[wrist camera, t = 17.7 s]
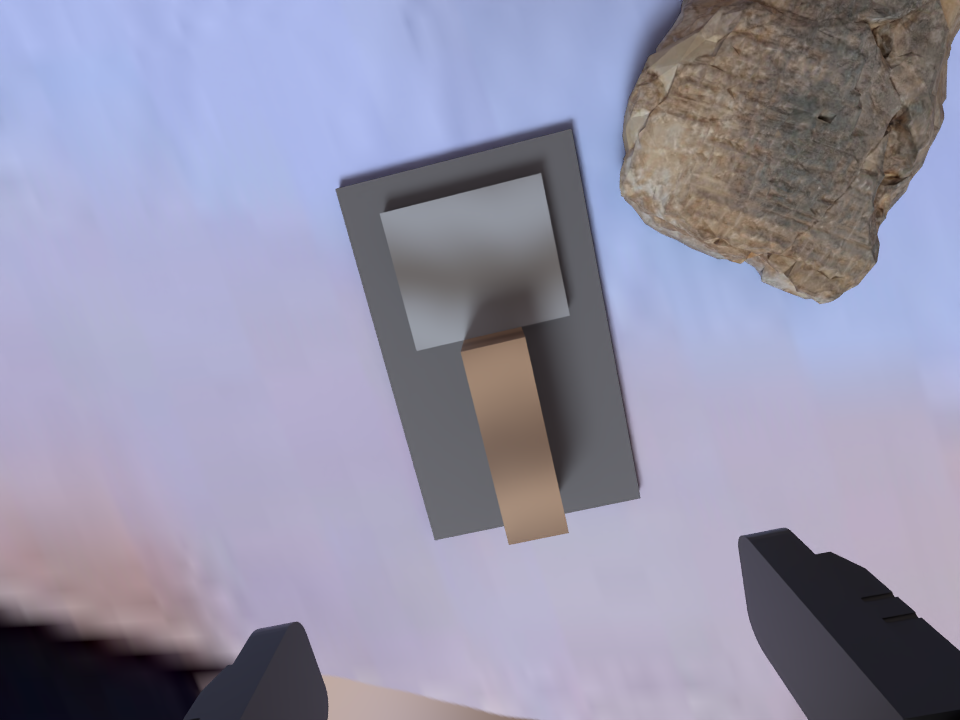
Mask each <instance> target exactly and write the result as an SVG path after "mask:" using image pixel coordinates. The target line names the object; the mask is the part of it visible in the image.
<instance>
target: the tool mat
mask: <svg viewBox="0 0 960 720" xmlns="http://www.w3.org/2000/svg"><path fill="white" fill-rule="evenodd" d="M539 173H541V175H542V180H543V185H544V190H545V195H546V200H547V205H548V210H549V215H550V220H551V225H552V230H553V235H554V240H555V244H556V249H557V254H558V259H559V264H560V269H561V274H562V279H563V284H564V289H565V294H566V299H567V304H568V309H569V314H570V316H566V317H561V318H557V319H553V320H548V321H544V322H540V323H536V324H531V325H527V326H523V327H522V330H523V333H524V335H525V338H526V343H527V347H528V352H529V356H530V361H531V365H532V370H533V374H534V379H535V383H536V388H537V392H538V397H539V401H540V406H541V410H542V415H543V419H544V424H545V428H546V433H547V437H548V442H549V446H550V451H551V455H552V460H553V464H554V469H555V473H556V478H557V482H558V487H559V491H560V496H561V500H562V505H563V509H564V514H565V513H570V512H575V511H580V510H585V509H590V508H595V507H600V506H604V505H609V504H614V503H619V502H624V501H629V500H634V499H639V498H640V493H639V488H638V482H637V477H636V472H635V466H634V461H633V455H632V450H631V445H630V439H629V434H628V429H627V423H626V418H625V413H624V407H623V402H622V396H621V391H620V386H619V380H618V375H617V370H616V364H615V359H614V354H613V348H612V343H611V337H610V332H609V327H608V321H607V316H606V311H605V305H604V300H603V295H602V289H601V284H600V278H599V273H598V268H597V262H596V257H595V252H594V246H593V241H592V236H591V230H590V225H589V220H588V214H587V209H586V203H585V198H584V193H583V187H582V182H581V177H580V171H579V166H578V161H577V155H576V150H575V144H574V139H573V134H572V129H568V130H564V131H560V132H557V133H553V134H549V135H545V136H541V137H537V138H533V139H529V140H525V141H521V142H517V143H513V144H510V145H506V146H502V147H498V148H494V149H490V150H486V151H482V152H478V153H474V154H470V155H467V156H463V157H459V158H455V159H451V160H447V161H443V162H439V163H435V164H431V165H427V166H424V167H420V168H416V169H412V170H408V171H404V172H400V173H396V174H392V175H388V176H384V177H380V178H377V179H373V180H369V181H365V182H361V183H357V184H353V185H349V186H345V187H341V188H337V189H336V193H337V196H338V200H339V203H340V207H341V210H342V214H343V217H344V221H345V225H346V228H347V232H348V235H349V239H350V242H351V246H352V249H353V253H354V256H355V260H356V263H357V267H358V270H359V274H360V278H361V281H362V285H363V288H364V292H365V295H366V299H367V302H368V306H369V309H370V313H371V316H372V320H373V323H374V327H375V330H376V334H377V338H378V341H379V345H380V348H381V352H382V355H383V359H384V362H385V366H386V369H387V373H388V376H389V380H390V383H391V387H392V390H393V394H394V398H395V401H396V405H397V408H398V412H399V415H400V419H401V422H402V426H403V429H404V433H405V436H406V440H407V443H408V447H409V451H410V454H411V458H412V461H413V465H414V468H415V472H416V475H417V479H418V482H419V486H420V489H421V493H422V496H423V500H424V503H425V507H426V511H427V514H428V518H429V521H430V525H431V528H432V532H433V535H434V539H435V540H438V539H443V538H448V537H453V536H458V535H463V534H468V533H473V532H477V531H482V530H487V529H492V528H497V527H502V526H504V523H503V519H502V515H501V511H500V507H499V503H498V499H497V495H496V491H495V487H494V483H493V479H492V475H491V471H490V467H489V463H488V459H487V455H486V451H485V447H484V443H483V439H482V435H481V431H480V427H479V423H478V419H477V415H476V411H475V407H474V403H473V399H472V395H471V391H470V387H469V383H468V379H467V375H466V371H465V367H464V363H463V359H462V356H461V349H462V345H463V341H464V340H462V341H458V342H453V343H449V344H445V345H440V346H436V347H432V348H428V349H423V350H419V351H417V350H416V347H415V343H414V339H413V336H412V332H411V328H410V324H409V321H408V317H407V313H406V310H405V306H404V302H403V298H402V295H401V291H400V287H399V284H398V280H397V276H396V272H395V269H394V265H393V261H392V258H391V254H390V250H389V246H388V243H387V239H386V235H385V232H384V228H383V224H382V220H381V217H380V213H384V212H388V211H392V210H396V209H400V208H404V207H408V206H412V205H416V204H420V203H424V202H428V201H432V200H436V199H440V198H444V197H448V196H452V195H456V194H460V193H464V192H468V191H472V190H476V189H480V188H484V187H488V186H492V185H496V184H500V183H504V182H507V181H511V180H515V179H519V178H523V177H527V176H531V175H535V174H539Z"/></svg>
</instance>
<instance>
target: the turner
mask: <svg viewBox="0 0 960 720" xmlns="http://www.w3.org/2000/svg"><path fill="white" fill-rule="evenodd" d="M380 217H381V220H382V224H383V228H384V232H385V235H386V239H387V243H388V246H389V250H390V254H391V258H392V261H393V265H394V269H395V272H396V276H397V280H398V284H399V287H400V291H401V295H402V298H403V302H404V306H405V310H406V313H407V317H408V321H409V324H410V328H411V332H412V336H413V339H414V343H415V347H416V350H417V351H419V350H423V349H428V348H432V347H436V346H440V345H445V344H449V343H453V342H458V341H462V340H464V341H463V345H462V349H461V356H462V359H463V363H464V367H465V371H466V375H467V379H468V383H469V387H470V391H471V395H472V399H473V403H474V407H475V411H476V415H477V419H478V423H479V427H480V431H481V435H482V439H483V443H484V447H485V451H486V455H487V459H488V463H489V467H490V471H491V475H492V479H493V483H494V487H495V491H496V495H497V499H498V503H499V507H500V511H501V515H502V519H503V523H504V527H505V531H506V535H507V539H508V543H509V545H511V544H516V543H521V542H526V541H531V540H536V539H541V538H546V537H550V536H555V535H560V534H565V533H569V532H568V527H567V523H566V518H565V514H564V509H563V505H562V500H561V496H560V491H559V487H558V482H557V478H556V473H555V469H554V464H553V460H552V455H551V451H550V446H549V442H548V437H547V433H546V428H545V424H544V419H543V415H542V410H541V406H540V401H539V397H538V392H537V388H536V383H535V379H534V374H533V370H532V365H531V361H530V356H529V352H528V347H527V343H526V338H525V335H524V333H523V330H522V327H523V326H527V325H531V324H536V323H540V322H544V321H548V320H553V319H557V318H561V317H566V316H570V314H569V309H568V304H567V299H566V294H565V289H564V284H563V279H562V274H561V269H560V264H559V259H558V254H557V249H556V244H555V240H554V235H553V230H552V225H551V220H550V215H549V210H548V205H547V200H546V195H545V190H544V185H543V180H542V175H541V173H539V174H535V175H531V176H527V177H523V178H519V179H515V180H511V181H507V182H504V183H500V184H496V185H492V186H488V187H484V188H480V189H476V190H472V191H468V192H464V193H460V194H456V195H452V196H448V197H444V198H440V199H436V200H432V201H428V202H424V203H420V204H416V205H412V206H408V207H404V208H400V209H396V210H392V211H388V212H384V213H380Z"/></svg>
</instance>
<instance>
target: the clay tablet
mask: <svg viewBox="0 0 960 720" xmlns="http://www.w3.org/2000/svg"><path fill="white" fill-rule="evenodd" d="M959 29H960V0H683V2H682V6H681V13H680V15H679V16H678V18H677V20H676V21H675V23H674V25H673V26H672V28H671V29H670V30H669V32H668V33H667V34H666V35H665V37H664V38H663V39H662V41H661V42H660V44H659V45H658V47H657V48H656V53H654V54H652V55H650V56H649V57H648V59H647V61H646V63H645V66H644V68H643V70H642V73H641V74H640V76H639V78H638V80H637V83H636V85H635V87H634V89H633V91H632V93H631V95H630V97H629V101H628V105H627V108H626V112H625V116H624V125H623V141H624V147H625V152H626V155H625V157H624V159H623V160H624V162H623V165H622V168H621V171H620V191H621V196H623V197H624V199H625V201H626V202H628V203H629V204H630V205H631V206H632V207H633V208H634V209H635V211H636V212H637V213H638V215H639V216H640V217H641V219H642V220H643V221H644V222H645V224H647V225H648V226H650V227H651V228H653V229H655V230H656V231H658V232H659V233H661V234H664V235H666V236H668V237H671V238H673V239H676V240H678V241H680V242H681V243H683V244H685V245H687V246H688V247H690V248H692V249H695V250H697V251H700V252H702V253H705V254H707V255H710V256H712V257H714V258H717V259H728V260H729V261H732V262H736V263H739V264H741V263H742V262H744V261H745V262H747V263H748V264H750V265H752V266H753V267H755V268H756V270H757V271H758V273H759V274H760V276H761V280H762V282H764V283H766V284H769V285H771V286H773V287H776V288H778V289H781V290H783V291H785V292H788V293H791V294H793V295H796V296H799V297H801V298H804V299H813V300H815V301H816V302H818V303H819V304H822V303H828V302H831V301H833V300H835V299H837V298H838V297H840V296H841V295H842V294H843V293H844V292H845V291H847V290H849V289H851V288H853V287H855V286H857V285H858V284H859V283H860V282H861V280H862V279H863V278H864V277H865V276H866V274H867V273H868V272H869V271H870V270H871V268H872V267H873V266H874V265H875V264H876V262H877V258H878V252H879V246H880V244H879V240H878V236H877V233H878V229H879V226H880V224H881V223H882V222H883V221H884V219H885V218H886V215H887V212H888V211H889V210H890V209H891V207H892V206H893V205H894V204H895V203H896V202H897V201H898V200H899V198H900V197H901V196H902V195H903V194H904V193H905V192H906V190H907V187H908V185H909V182H910V181H911V179H912V178H913V176H914V175H915V174H916V173H917V172H918V171H919V169H920V168H921V167H922V166H923V163H924V160H925V158H926V155H927V153H928V150H929V148H930V146H931V145H932V143H933V141H934V139H935V137H936V135H937V133H938V132H939V130H940V128H941V125H942V123H943V120H944V111H943V106H942V104H943V102H944V101H945V99H946V87H947V60H948V58H949V56H950V50H951V44H952V42H953V39H954V37H955V35H956V34H957V32H958V30H959Z"/></svg>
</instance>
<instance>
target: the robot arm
mask: <svg viewBox="0 0 960 720" xmlns="http://www.w3.org/2000/svg"><path fill="white" fill-rule="evenodd" d="M738 548H739V555H740V562H741V569H742V576H743V583H744V590H745V597H746V604H747V611H748V616H749V620H750V623H751V626H752V629H753V631H754V634H755V636H756V639H757V641H758V643H759V645H760V647H761V649H762V650H763V652H764V654H765V655H766V657H767V658H768V660H769V661H770V663H771V664H772V666H773V667H774V669H775V670H776V672H777V673H778V675H779V676H780V678H781V679H782V681H783V682H784V684H785V685H786V687H787V688H788V690H789V691H790V693H791V694H792V696H793V697H794V699H795V700H796V702H797V703H798V705H799V706H800V708H801V709H802V711H803V712H804V714H805V715H806V717H807V718H808V720H960V651H959V650H958V649H957V648H956V647H955V646H954V645H952V644H951V643H950V642H949V641H948V640H947V639H945V638H944V637H943V636H942V635H941V634H940V633H939V632H937V631H936V630H935V629H934V628H933V627H932V626H931V625H929V624H928V623H927V622H926V621H925V620H924V619H923V618H918V617H917V615H916V613H915V611H913V610H912V609H911V608H910V607H909V606H908V605H907V604H905V603H904V602H903V601H902V600H901V599H900V598H899V597H894V595H893V593H892V591H891V590H889V589H888V588H887V587H886V586H885V585H884V584H882V583H881V582H880V581H879V580H878V579H877V578H876V577H874V576H873V575H872V574H871V573H870V572H869V571H868V570H866V569H865V568H863V567H861V566H859V565H857V564H855V563H853V562H851V561H849V560H847V559H845V558H842V557H840V556H838V555H836V554H834V553H832V552H826V553H821V554H816V555H815V554H814V553H813V552H812V551H811V550H810V549H809V548H808V547H807V546H806V545H805V544H804V543H803V542H802V541H801V540H800V539H799V538H798V537H797V536H796V535H795V534H794V533H792V532H791V531H790V530H789V529H787V528H779V529H774V530H769V531H764V532H759V533H754V534H749V535H744V536H740V537H739V541H738ZM327 719H328V696H327V691H326V687H325V684H324V681H323V679H322V676H321V673H320V670H319V667H318V665H317V662H316V659H315V656H314V653H313V651H312V648H311V645H310V642H309V640H308V637H307V634H306V631H305V629H304V627H303V626H302V625H301V624H300V623H299V622H292V623H287V624H282V625H277V626H271V627H266V628H261V629H257V630H255V631H254V632H253V633H252V634H251V636H250V637H249V639H248V640H247V642H246V644H245V645H244V647H243V649H242V650H241V652H240V654H239V655H238V657H237V658H236V660H235V662H234V663H233V665H227V666H226V667H225V668H224V669H223V670H222V671H221V672H220V673H219V674H218V675H217V676H216V677H215V678H214V679H213V680H212V681H211V682H210V683H209V684H208V685H207V686H206V687H205V688H204V689H203V690H202V691H201V693H200V694H199V696H198V697H197V699H196V701H195V702H194V704H193V705H192V707H191V708H190V710H189V711H188V713H187V715H186V716H185V718H184V719H183V720H327Z"/></svg>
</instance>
